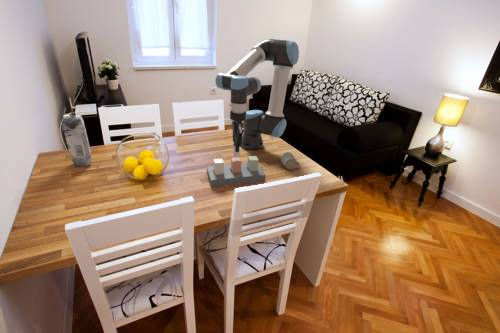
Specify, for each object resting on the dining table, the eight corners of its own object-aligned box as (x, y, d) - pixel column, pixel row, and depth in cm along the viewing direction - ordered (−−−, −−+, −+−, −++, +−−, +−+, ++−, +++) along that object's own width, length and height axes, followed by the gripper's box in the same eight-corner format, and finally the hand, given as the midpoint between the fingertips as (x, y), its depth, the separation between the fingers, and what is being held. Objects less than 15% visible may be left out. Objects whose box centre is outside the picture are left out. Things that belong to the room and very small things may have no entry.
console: (206, 173, 148) (206, 166, 146) (256, 168, 155) (257, 162, 153) (211, 187, 136) (211, 180, 134) (264, 181, 144) (265, 174, 142)
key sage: (247, 168, 148) (247, 156, 144) (255, 167, 149) (255, 156, 146) (249, 172, 144) (250, 160, 141) (257, 171, 145) (258, 159, 142)
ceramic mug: (284, 171, 155) (286, 158, 151) (279, 164, 162) (281, 152, 158) (302, 169, 158) (304, 157, 154) (296, 163, 165) (298, 151, 161)
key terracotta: (230, 169, 145) (231, 157, 142) (238, 169, 146) (239, 157, 143) (232, 173, 142) (232, 161, 138) (240, 173, 143) (241, 161, 139)
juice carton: (92, 157, 155) (81, 110, 142) (92, 166, 147) (81, 117, 134) (74, 160, 151) (61, 112, 138) (73, 169, 143) (59, 119, 130)
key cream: (213, 171, 143) (213, 159, 140) (222, 170, 144) (222, 158, 141) (215, 175, 139) (215, 163, 136) (223, 174, 140) (223, 162, 137)
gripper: (227, 107, 133) (226, 151, 144) (233, 115, 122) (231, 163, 133) (242, 106, 135) (240, 150, 146) (249, 115, 124) (246, 161, 135)
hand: (236, 156), depth 140 cm, fingers closed
